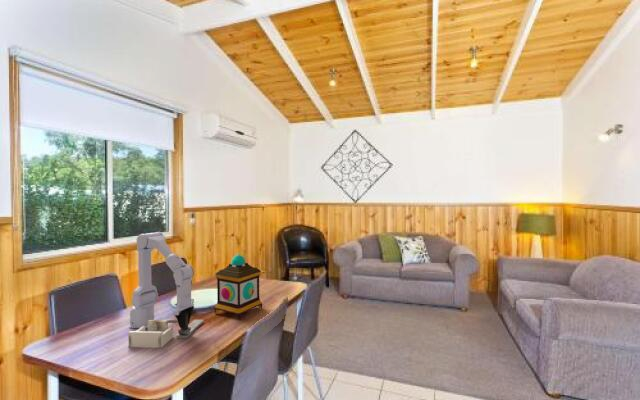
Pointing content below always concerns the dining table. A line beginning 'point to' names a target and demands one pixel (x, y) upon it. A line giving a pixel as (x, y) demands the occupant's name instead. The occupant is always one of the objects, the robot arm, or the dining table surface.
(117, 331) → the dining table surface
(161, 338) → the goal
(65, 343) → the dining table surface
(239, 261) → the decorative lantern
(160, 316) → the dining table surface
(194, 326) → the rail
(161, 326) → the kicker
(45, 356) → the dining table surface
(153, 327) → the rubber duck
